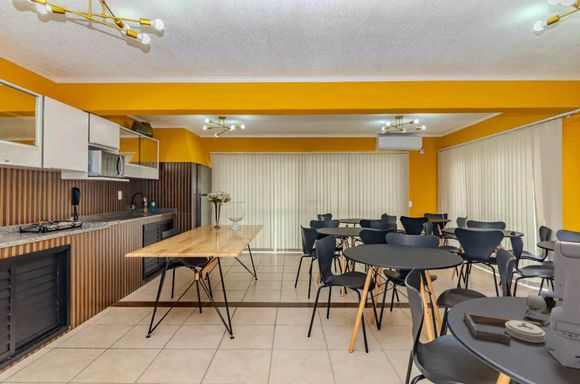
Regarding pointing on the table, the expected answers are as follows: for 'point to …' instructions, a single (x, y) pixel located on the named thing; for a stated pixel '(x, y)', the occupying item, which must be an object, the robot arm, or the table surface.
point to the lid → (525, 331)
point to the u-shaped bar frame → (493, 320)
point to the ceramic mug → (537, 304)
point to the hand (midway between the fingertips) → (563, 317)
